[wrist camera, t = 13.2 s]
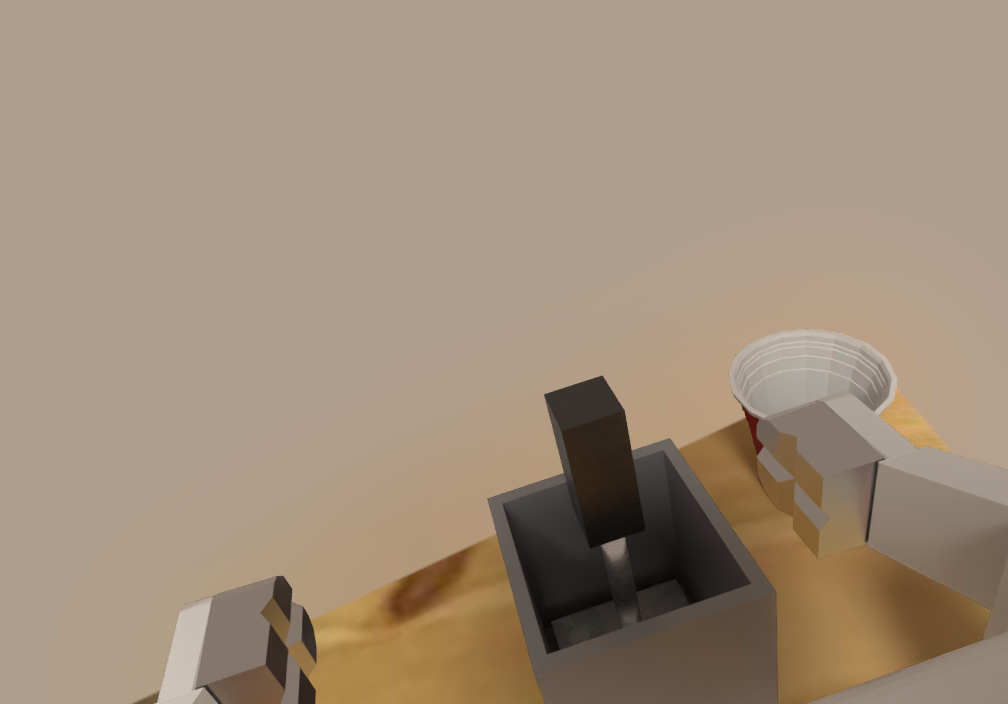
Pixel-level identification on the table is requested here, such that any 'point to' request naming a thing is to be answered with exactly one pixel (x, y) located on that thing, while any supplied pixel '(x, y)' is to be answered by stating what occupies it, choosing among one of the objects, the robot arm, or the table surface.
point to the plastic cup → (808, 373)
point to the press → (654, 560)
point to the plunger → (604, 507)
